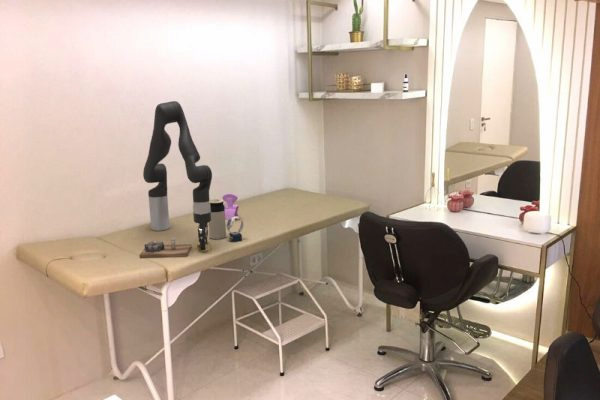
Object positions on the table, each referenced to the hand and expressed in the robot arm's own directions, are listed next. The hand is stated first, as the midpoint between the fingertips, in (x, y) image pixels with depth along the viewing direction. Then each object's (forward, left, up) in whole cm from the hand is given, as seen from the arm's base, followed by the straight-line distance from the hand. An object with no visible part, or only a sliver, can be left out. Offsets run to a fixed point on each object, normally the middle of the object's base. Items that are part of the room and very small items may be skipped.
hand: (204, 247), depth 237 cm
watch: (-13, +13, -1) cm, 18 cm away
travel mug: (-19, +4, -1) cm, 19 cm away
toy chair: (-52, +8, -1) cm, 53 cm away
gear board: (+3, -16, -1) cm, 16 cm away
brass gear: (0, 0, -1) cm, 1 cm away
